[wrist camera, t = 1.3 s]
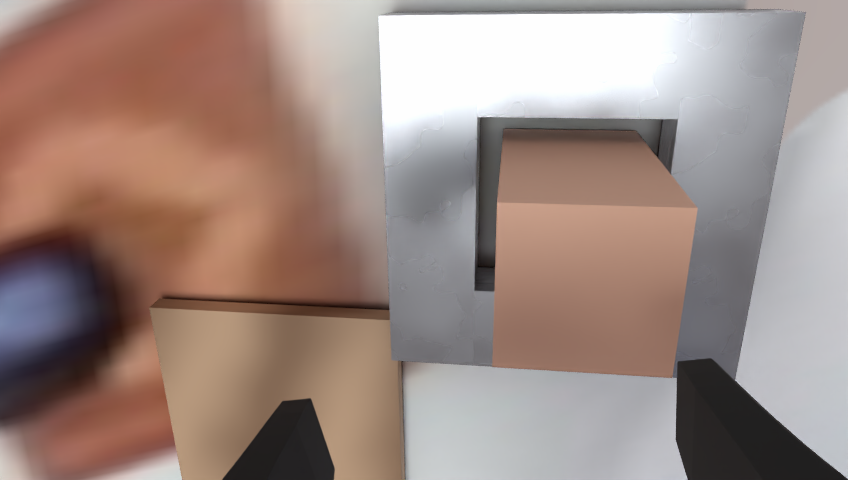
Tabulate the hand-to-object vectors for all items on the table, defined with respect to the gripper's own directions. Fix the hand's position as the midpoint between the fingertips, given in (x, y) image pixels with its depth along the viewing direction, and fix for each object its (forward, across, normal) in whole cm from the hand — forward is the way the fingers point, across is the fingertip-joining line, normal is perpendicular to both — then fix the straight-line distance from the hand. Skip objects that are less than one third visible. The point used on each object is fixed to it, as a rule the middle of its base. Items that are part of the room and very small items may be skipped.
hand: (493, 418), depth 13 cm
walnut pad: (+11, +9, +9) cm, 17 cm away
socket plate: (+11, -3, +1) cm, 12 cm away
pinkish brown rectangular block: (+11, -3, +1) cm, 12 cm away
